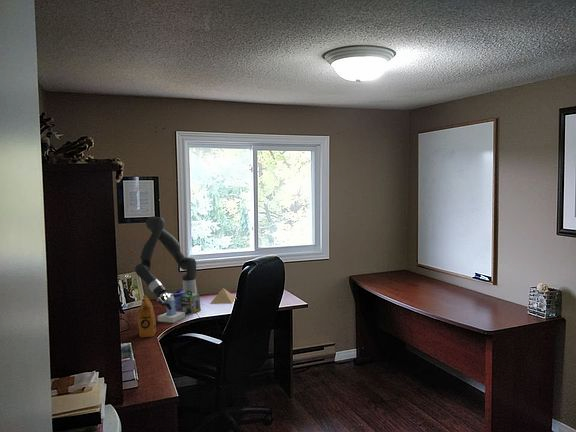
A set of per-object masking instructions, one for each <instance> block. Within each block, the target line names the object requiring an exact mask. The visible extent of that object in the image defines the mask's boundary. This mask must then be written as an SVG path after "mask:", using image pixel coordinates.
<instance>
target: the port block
mask: <svg viewBox="0 0 576 432" xmlns="http://www.w3.org/2000/svg"><path fill="white" fill-rule="evenodd" d="M185 318H186V313H185V312H182V311H177V312H176V314H175V315H173V316H169V315H167V312H165V313H162V314H159V315H157V322H158V323H166V324H167V323H169V324H174V323H177V322H180V321H181V320H184V319H185Z"/></svg>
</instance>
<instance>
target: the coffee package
mask: <svg viewBox="0 0 576 432" xmlns="http://www.w3.org/2000/svg"><path fill="white" fill-rule="evenodd" d="M142 297H143V299H141V305H140V306H139V308H138V309H139V310H138V317H137V326H138V333H139V337H140V338H141V339H142V338H150V337H154V336H155V335H156V333H157V323H156V314H155V310H154V306H153V303H152V301H151V300H150V299H149V298H148V296H147V294H144V295H143V296H142Z"/></svg>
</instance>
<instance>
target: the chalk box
mask: <svg viewBox="0 0 576 432" xmlns="http://www.w3.org/2000/svg"><path fill="white" fill-rule="evenodd" d="M186 291H187V294H186V295H183V296H181V305H182V310H181V312H185V314H188V315H193V314H195V313H197V312H200V311H201V300H200V299H201V297H200V296H201V295H200V294H199V293H197V294H194V293H192V292H191V291H189V290H186ZM188 292H190V294H189V293H188Z"/></svg>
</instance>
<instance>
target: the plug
mask: <svg viewBox="0 0 576 432" xmlns="http://www.w3.org/2000/svg"><path fill="white" fill-rule="evenodd" d="M167 302H168V304H169V305H170V306H171V307H172V309H171V310H169V309H168V308H167V307H166V306H165V308H166V309H165V310H166V312H167V315H169V316H173V315H175V314H176V309H175V300H174V298H173V297H172V296H169V297H167ZM166 312H165V313H166Z"/></svg>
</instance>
